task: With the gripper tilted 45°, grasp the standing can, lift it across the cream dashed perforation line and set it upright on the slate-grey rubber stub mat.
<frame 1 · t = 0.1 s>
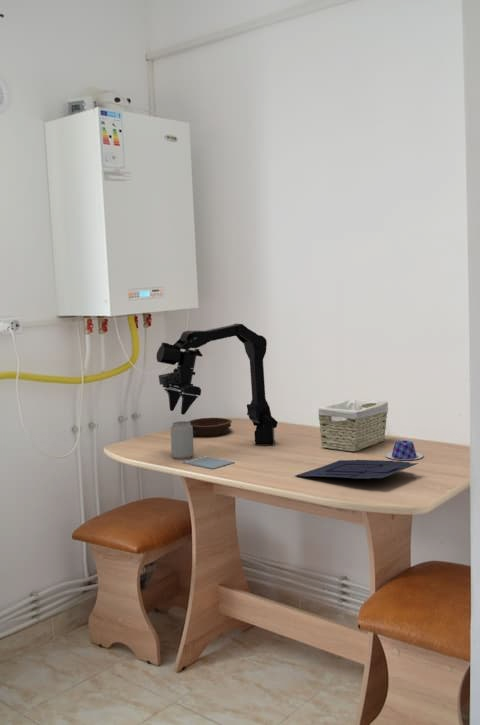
hand: (177, 412, 259), 15 cm above the table, fingers open, 9 cm apart
storage basket: (354, 445, 271), on the table
can: (182, 457, 261), on the table
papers: (357, 477, 229), on the table
dish: (209, 434, 299), on the table
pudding: (404, 458, 251), on the table
stub mat: (208, 463, 251), on the table
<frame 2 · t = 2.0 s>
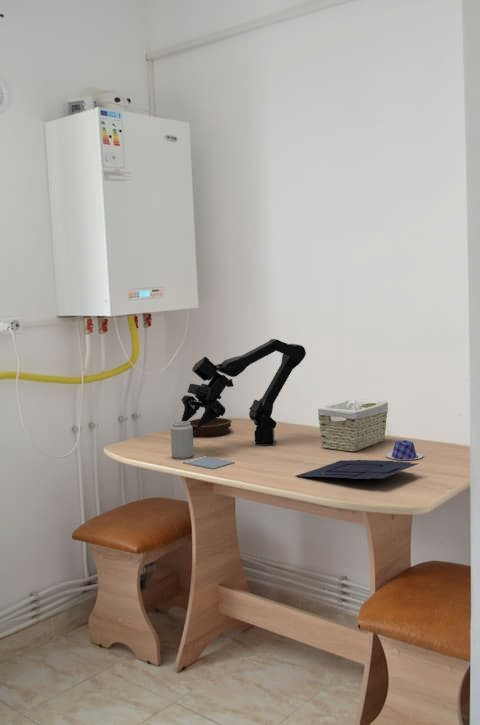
hand: (190, 424, 262), 11 cm above the table, fingers open, 9 cm apart
nothing on the table moved.
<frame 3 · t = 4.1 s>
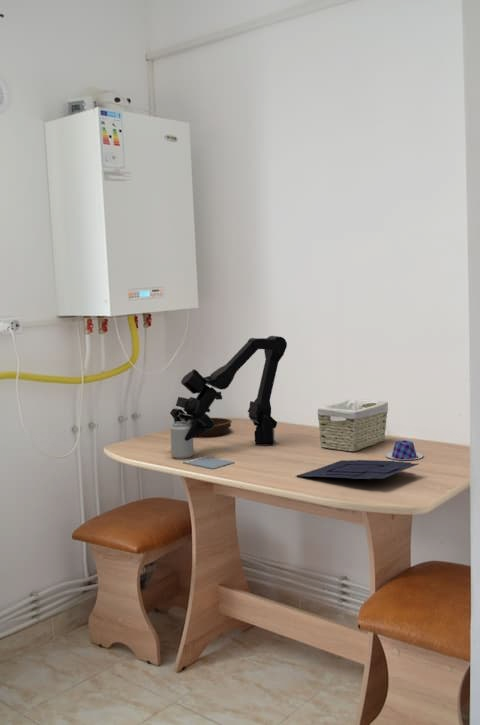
hand: (178, 438, 259), 7 cm above the table, fingers closed on can, 7 cm apart
can: (182, 457, 261), on the table, touching gripper
everything else where it was.
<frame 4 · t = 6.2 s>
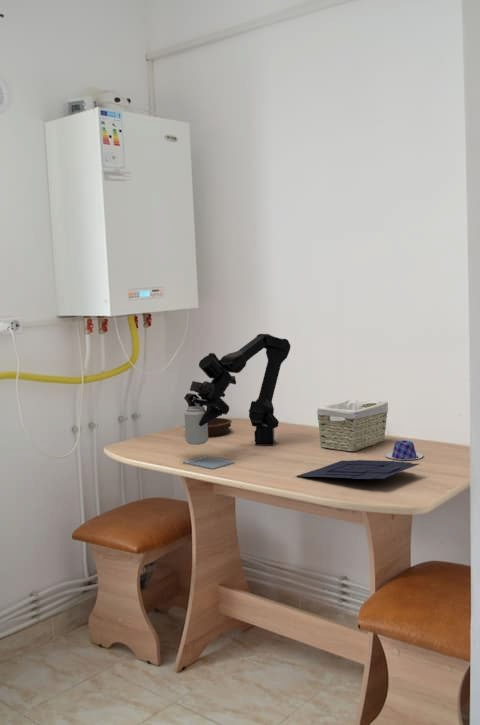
hand: (192, 423, 253), 13 cm above the table, fingers closed on can, 7 cm apart
can: (197, 443, 254), point 6 cm above the table, touching gripper
everything else where it was.
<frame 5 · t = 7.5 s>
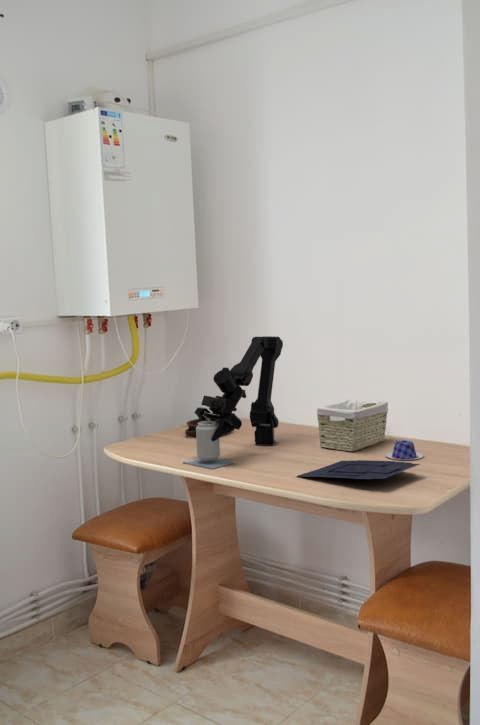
hand: (204, 438, 249), 8 cm above the table, fingers closed on can, 7 cm apart
can: (208, 458, 251), point 1 cm above the table, touching gripper
everything else where it was.
when the fingers open (8 cm above the table, at t = 8.3 s): can drops 1 cm, resting on stub mat.
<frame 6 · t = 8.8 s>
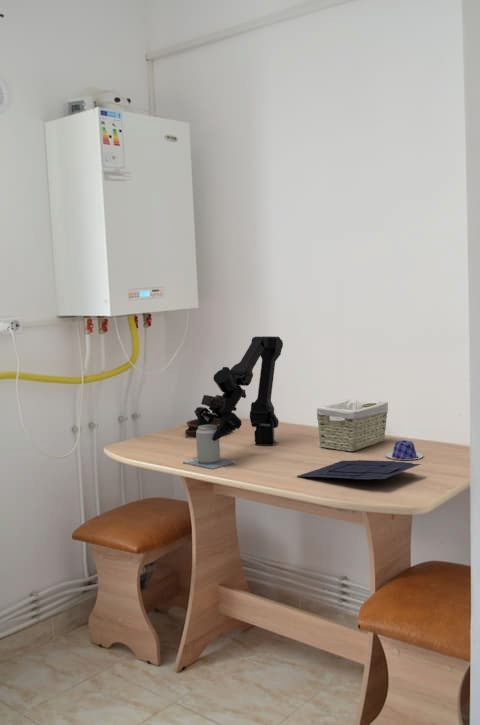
hand: (204, 438, 249), 9 cm above the table, fingers open, 9 cm apart
can: (208, 462, 251), resting on stub mat
everything else where it was.
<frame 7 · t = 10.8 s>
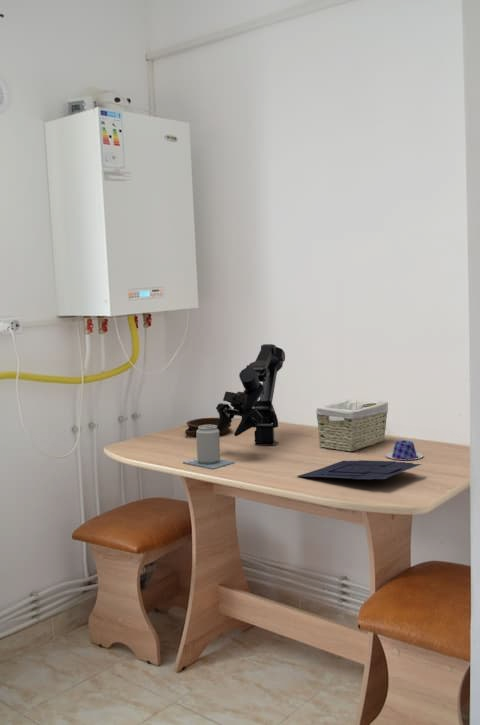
hand: (226, 433, 255), 9 cm above the table, fingers open, 9 cm apart
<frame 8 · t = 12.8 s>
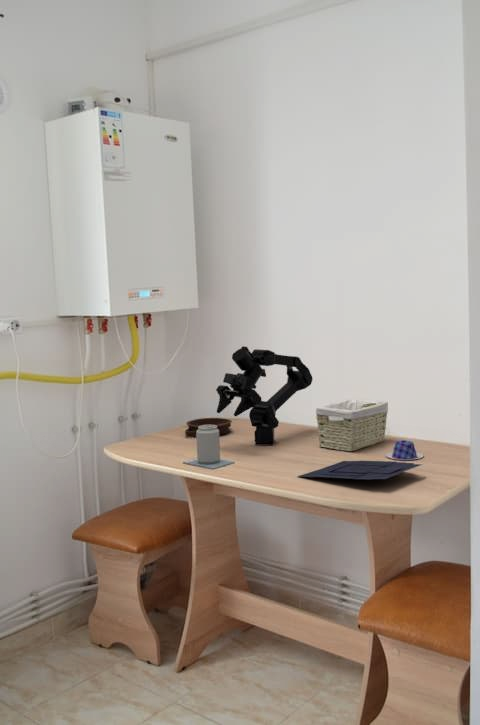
hand: (226, 414, 263), 14 cm above the table, fingers open, 9 cm apart
at the end: can inside the target area (0.2 cm from its centre), resting on stub mat; can tilted 0°; the gripper is holding nothing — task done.
